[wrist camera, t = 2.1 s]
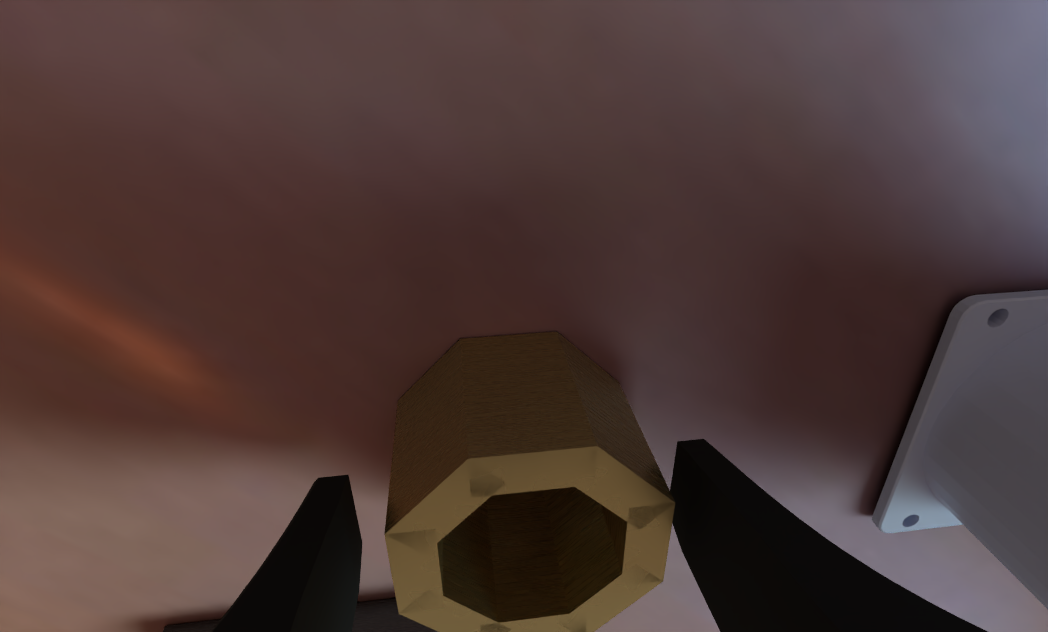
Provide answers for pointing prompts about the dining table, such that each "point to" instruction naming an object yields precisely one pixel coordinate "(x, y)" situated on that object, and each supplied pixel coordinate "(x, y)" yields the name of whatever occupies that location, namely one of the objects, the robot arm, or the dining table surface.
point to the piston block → (373, 624)
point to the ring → (522, 492)
